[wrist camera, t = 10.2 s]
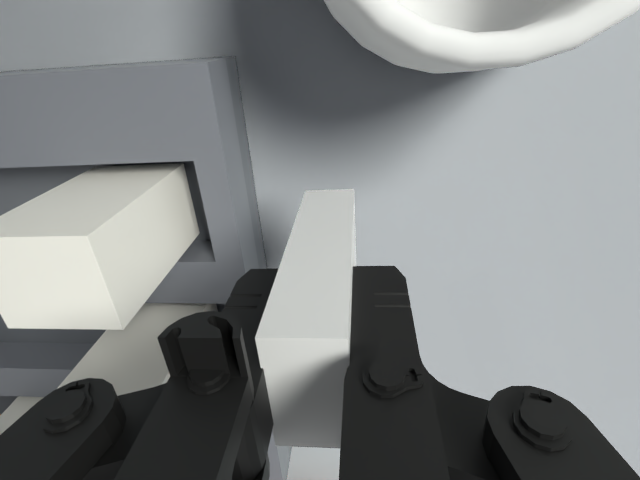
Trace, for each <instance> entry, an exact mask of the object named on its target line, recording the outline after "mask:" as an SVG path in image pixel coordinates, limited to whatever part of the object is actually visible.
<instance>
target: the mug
mask: <svg viewBox="0 0 640 480" xmlns="http://www.w3.org/2000/svg"><path fill="white" fill-rule="evenodd" d="M324 2H325V3H326V5H327V7H328V9H329V10H330V12H331V14H332V16H333V17H334V18H335V19H336V20H337V21H338V22H339V23H340V24H341V25H342V26H343V28H344V29H345V30H346V31H347V32H348V33H349V34H350V35H351V36H352V37H353V38H354V39H355V40H356V41H357V42H358V43H359V44H360V45H361V46H362V47H364V48H366V49H368V50H369V51H371V52H373V53H375V54H376V55H378V56H380V57H382V58H383V59H385V60H387V61H389V62H390V63H392V64H394V65H397V66H401V67H406V68H410V69H415V70H419V71H424V72H428V73H435V74H437V73H454V72H471V71H481V70H488V69H495V68H508V67H518V66H523V65H526V64H529V63H532V62H535V61H538V60H541V59H544V58H548V57H551V56H554V55H557V54H560V53H563V52H566V51H569V50H573V49H575V48H577V47H579V46H580V45H582V44H584V43H585V42H587V41H589V40H591V39H592V38H594V37H596V36H597V35H599V34H601V33H602V32H604V31H606V30H607V29H609V28H611V27H612V26H614V25H616V24H618V23H619V22H621V21H623V20H624V19H626V18H628V17H629V16H631V15H632V14H634V13H635V12H636V11H638V10H639V9H640V0H324Z"/></svg>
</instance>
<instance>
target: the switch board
mask: <svg viewBox="0 0 640 480" xmlns="http://www.w3.org/2000/svg"><path fill="white" fill-rule="evenodd" d="M175 163H183V164H184V168H185V172H186V176H187V181H188V185H189V189H190V194H191V198H192V202H193V207H194V211H195V215H196V219H197V224H198V228H199V232H200V233H199V235H198V236H197V237H196V238H195V240H194V241H193V242H192V244H191V245H190V246H189V247H188V249H187V250H186V251H185V252H184V254H183V255H182V256H181V257H180V259H179V260H178V261H177V263H176V264H175V265H174V266H173V268H172V269H171V270H170V271H169V273H168V274H167V275H166V276H165V278H164V279H163V280H162V282H161V283H160V284H159V285H158V287H157V288H156V289H155V290H154V292H153V293H152V294H151V296H150V297H149V298H148V299H147V301H146V302H145V303H204V304H216V305H217V310H218V312H222V310H223V309H225V304H226V302H227V300H228V298H229V297H230V294H231V292H232V290H233V288H234V286H235V284H236V282H237V280H238V279H240V278H241V277H242V276H243V275H244V274H245V273H247V272H248V271H249V270H250V269H267V265H266V259H265V252H264V245H263V238H262V232H261V225H260V218H259V212H258V205H257V198H256V192H255V185H254V178H253V172H252V165H251V158H250V151H249V145H248V138H247V131H246V125H245V118H244V111H243V105H242V98H241V91H240V85H239V78H238V71H237V65H236V58H235V56H230V57H215V58H200V59H185V60H170V61H155V62H140V63H125V64H110V65H96V66H81V67H66V68H51V69H36V70H21V71H6V72H0V216H1V215H3V214H5V213H7V212H8V211H10V210H12V209H14V208H16V207H18V206H20V205H22V204H24V203H26V202H28V201H30V200H32V199H34V198H36V197H37V196H39V195H41V194H43V193H45V192H47V191H49V190H51V189H53V188H55V187H57V186H59V185H61V184H63V183H65V182H66V181H68V180H70V179H72V178H74V177H76V176H78V175H80V174H82V173H84V172H86V171H88V170H90V169H92V168H94V167H95V166H121V165H148V164H175ZM105 331H106V330H101V329H21V328H8V327H7V325H6V323H5V322H4V320H3V318H2V316H1V315H0V415H1V414H2V413H3V412H4V411H5V410H6V409H7V408H8V407H9V406H10V405H11V404H12V403H13V401H14V400H15V399H16V398H17V397H18V396H24V397H45V396H47V395H48V394H49V393H51V392H52V391H54V390H55V389H57V388H58V387H59V385H60V384H61V383H62V382H63V381H64V380H65V378H66V377H67V376H68V375H69V374H70V372H71V371H72V370H73V369H74V368H75V366H76V365H77V364H78V363H79V362H80V361H81V359H82V358H83V357H84V356H85V355H86V353H87V352H88V351H89V350H90V349H91V348H92V346H93V345H94V344H95V343H96V342H97V340H98V339H99V338H100V337H101V336H102V335H103V333H104V332H105ZM291 449H292V446H276V445H275V440H274V435H273V430H272V434H271V438H270V443H269V447H268V452H267V453H268V458H269V462H270V477H269V480H286V479H287V473H288V467H289V461H290V455H291Z"/></svg>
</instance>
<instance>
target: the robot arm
mask: <svg viewBox="0 0 640 480" xmlns="http://www.w3.org/2000/svg"><path fill="white" fill-rule="evenodd" d="M157 339H158V342H159V345H160V347H161V350H162V353H163V356H164V359H165V362H166V365H167V368H168V371H169V374H170V378H169V379H168V381H167V383H165V384H162V385H159V386H156V387H152V388H148V389H144V390H140V391H136V392H132V393H127V394H123V395H119V396H117V394H116V392H115V389H114V387H113V385H112V384H111V383H109V382H107V381H106V380H104V379H98V378H86V379H82V380H78V381H73V382H71V383H68V384H66V385H64V386H62V387H60V388H58V389H55V390H54V391H52V392H51V393H49V394H48V395H47V396H45V397H44V398H43V399H41V400H40V401H38V402H37V403H36V404H35V405H34V406H33V407H31V408H30V409H29V410H28V411H27V412H26V413H25V414H23V415H22V416H21V417H20V418H19V419H18V420H17V421H15V422H14V423H13V424H12V425H11V426H10V427H9V428H7V429H6V430H5V431H4V432H3V433H2V434H1V435H0V480H269V477H270V462H269V458H268V453H267V452H268V447H269V443H270V438H271V434H272V430H273V435H274V440H275V445H276V446H298V447H322V448H341V450H340V469H339V480H640V477H639V476H638V475H637V474H636V472H635V471H634V470H633V469H632V468H631V467H630V466H629V464H628V463H627V462H626V461H625V460H624V459H623V458H622V456H621V455H620V454H619V453H618V452H617V451H616V450H615V448H614V447H613V446H612V445H611V444H610V443H609V442H608V440H607V439H606V438H605V437H604V436H603V435H602V434H601V432H600V431H599V430H598V429H597V428H596V427H595V426H594V424H593V423H592V422H591V421H590V420H589V419H588V418H587V416H585V415H584V414H583V413H582V412H581V411H580V410H579V409H577V408H576V407H575V406H574V405H573V404H572V403H571V402H569V401H567V400H566V399H564V398H562V397H560V396H558V395H556V394H554V393H552V392H551V391H547V390H543V389H540V388H536V387H532V386H511V387H508V388H506V389H503V390H501V391H498V392H497V393H496V394H495V395H494V397H493V398H492V399H491V400H490V401H488V400H485V399H481V398H478V397H474V396H471V395H467V394H464V393H461V392H458V391H456V390H453V389H450V388H448V387H447V386H445V385H443V384H442V383H440V382H438V381H437V380H436V379H435V378H434V377H433V376H432V375H430V374H429V373H428V371H427V370H426V368H425V367H424V365H423V364H422V361H421V358H420V355H419V350H418V344H417V338H416V333H415V327H414V322H413V316H412V311H411V308H410V300H409V295H408V289H407V283H406V278H405V277H404V276H403V275H402V274H401V272H400V271H399V270H398V269H397V268H396V267H395V266H356V238H355V204H354V189H339V190H308V191H305V193H304V196H303V199H302V202H301V205H300V207H299V210H298V213H297V216H296V219H295V222H294V225H293V228H292V231H291V234H290V237H289V240H288V243H287V245H286V248H285V251H284V254H283V257H282V260H281V263H280V266H279V269H250V270H249V271H248V272H247V273H245V274H244V275H243V276H242V277H241V278H240V279H238V280H237V282H236V284H235V286H234V288H233V290H232V292H231V294H230V297H229V298H228V300H227V302H226V304H225V309H223V310H222V312H217V311H207V312H198V313H194V314H192V315H189V316H186V317H183V318H181V319H179V320H177V321H176V322H174V323H173V324H171V325H169V326H168V327H167V328H166V329H165V330H164V331H163V332H162V333H161V334H160V335H159V336H158V337H157Z"/></svg>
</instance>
